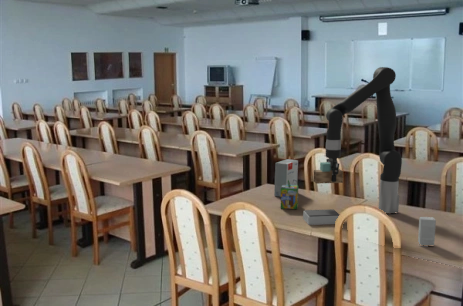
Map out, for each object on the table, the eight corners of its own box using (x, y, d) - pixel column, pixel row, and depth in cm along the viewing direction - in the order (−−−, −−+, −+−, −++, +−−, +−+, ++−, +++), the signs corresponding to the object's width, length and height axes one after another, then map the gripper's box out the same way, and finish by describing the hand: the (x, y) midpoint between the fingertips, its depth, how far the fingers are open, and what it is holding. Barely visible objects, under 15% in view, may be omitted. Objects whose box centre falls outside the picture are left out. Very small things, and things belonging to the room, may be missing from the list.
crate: (327, 169, 261) (327, 162, 261) (330, 171, 257) (330, 163, 257) (320, 170, 261) (320, 162, 260) (322, 171, 257) (322, 164, 256)
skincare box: (431, 243, 219) (434, 217, 217) (434, 247, 215) (436, 220, 213) (417, 242, 220) (419, 216, 218) (419, 246, 216) (421, 219, 214)
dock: (333, 217, 255) (334, 208, 255) (340, 223, 246) (340, 214, 245) (303, 218, 254) (303, 209, 253) (308, 224, 244) (308, 215, 243)
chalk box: (297, 209, 268) (298, 182, 266) (280, 208, 270) (280, 181, 268) (298, 205, 277) (299, 178, 275) (281, 204, 279) (282, 178, 276)
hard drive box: (285, 198, 291) (286, 164, 288) (273, 196, 295) (274, 162, 292) (297, 192, 304) (298, 160, 300) (286, 190, 308) (286, 158, 305)
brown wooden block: (339, 180, 264) (339, 169, 263) (342, 182, 259) (343, 171, 258) (313, 181, 262) (313, 169, 261) (316, 183, 257) (316, 172, 256)
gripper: (345, 150, 251) (343, 183, 254) (335, 145, 265) (334, 177, 268) (330, 150, 250) (329, 184, 253) (321, 146, 264) (320, 177, 267)
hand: (332, 180), depth 261 cm, fingers closed on brown wooden block, 5 cm apart
